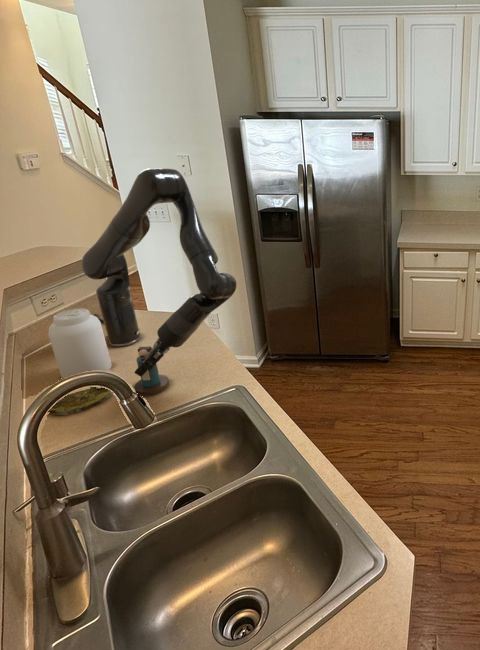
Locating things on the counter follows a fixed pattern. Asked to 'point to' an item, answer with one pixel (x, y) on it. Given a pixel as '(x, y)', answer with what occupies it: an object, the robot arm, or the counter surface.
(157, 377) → the teal pump bottle
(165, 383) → the stand
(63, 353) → the white plastic jar
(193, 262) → the robot arm
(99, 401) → the mottled olive oval disc
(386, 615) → the counter surface
